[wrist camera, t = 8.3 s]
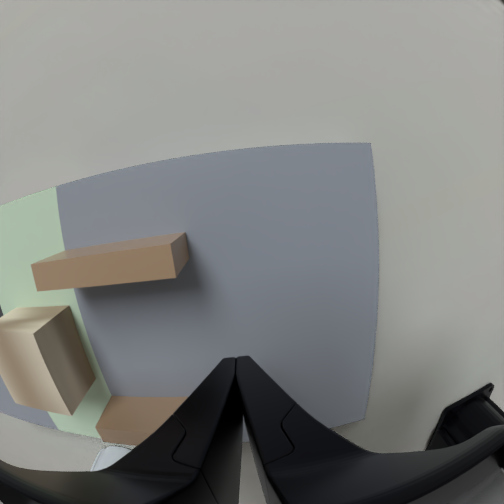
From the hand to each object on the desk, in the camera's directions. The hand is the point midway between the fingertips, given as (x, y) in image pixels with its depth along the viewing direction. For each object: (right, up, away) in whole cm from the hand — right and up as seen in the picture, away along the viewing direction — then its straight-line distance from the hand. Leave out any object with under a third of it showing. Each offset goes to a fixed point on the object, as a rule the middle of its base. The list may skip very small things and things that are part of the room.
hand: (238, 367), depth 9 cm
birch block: (-9, -1, +2) cm, 10 cm away
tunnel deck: (-7, 0, +4) cm, 8 cm away
